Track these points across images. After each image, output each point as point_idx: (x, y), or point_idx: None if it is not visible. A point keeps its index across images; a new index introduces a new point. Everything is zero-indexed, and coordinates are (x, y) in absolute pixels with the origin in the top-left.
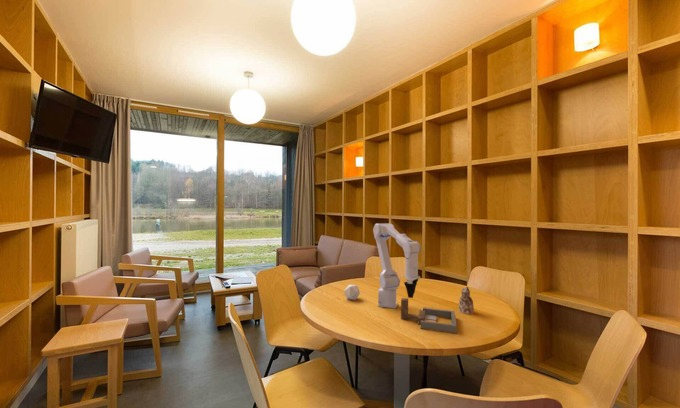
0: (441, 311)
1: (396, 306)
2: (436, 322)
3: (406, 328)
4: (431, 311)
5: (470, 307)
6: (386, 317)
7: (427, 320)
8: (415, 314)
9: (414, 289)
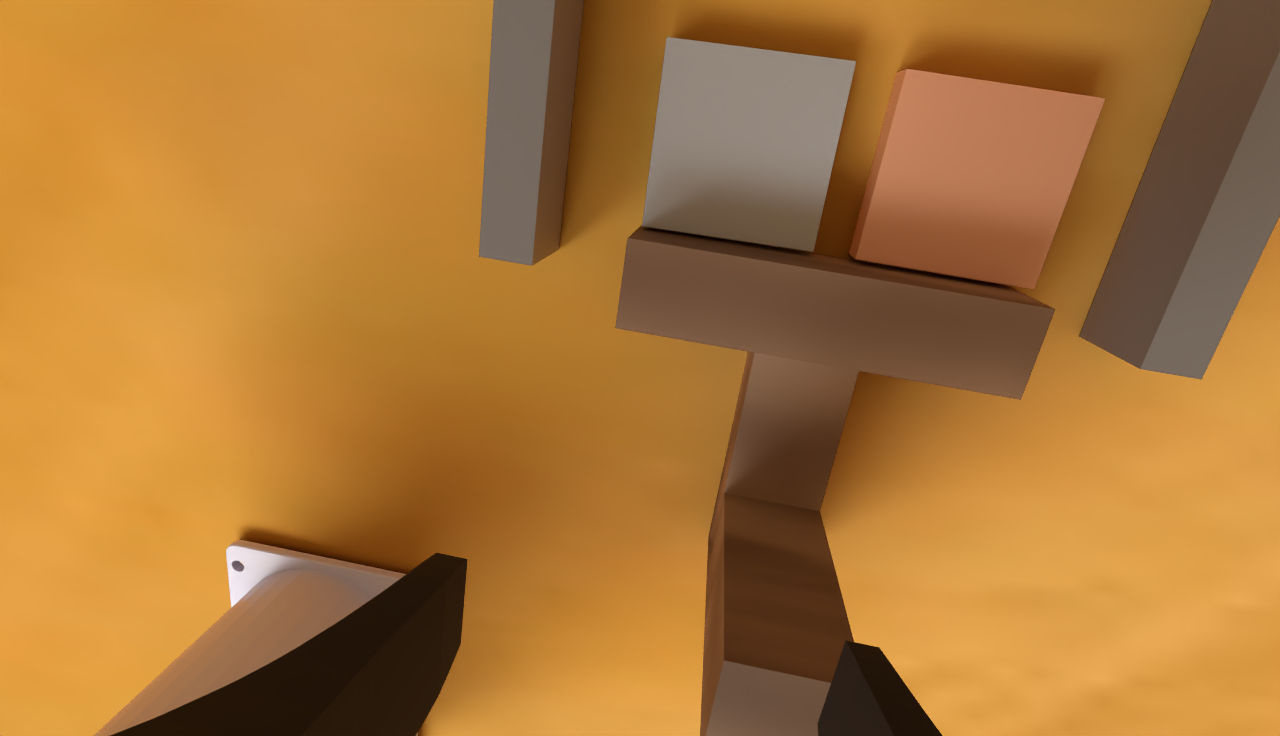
0: None
1: (371, 573)
2: (1270, 97)
3: (1117, 522)
4: (556, 107)
5: None
6: None
7: (894, 219)
8: (746, 394)
9: (419, 626)
